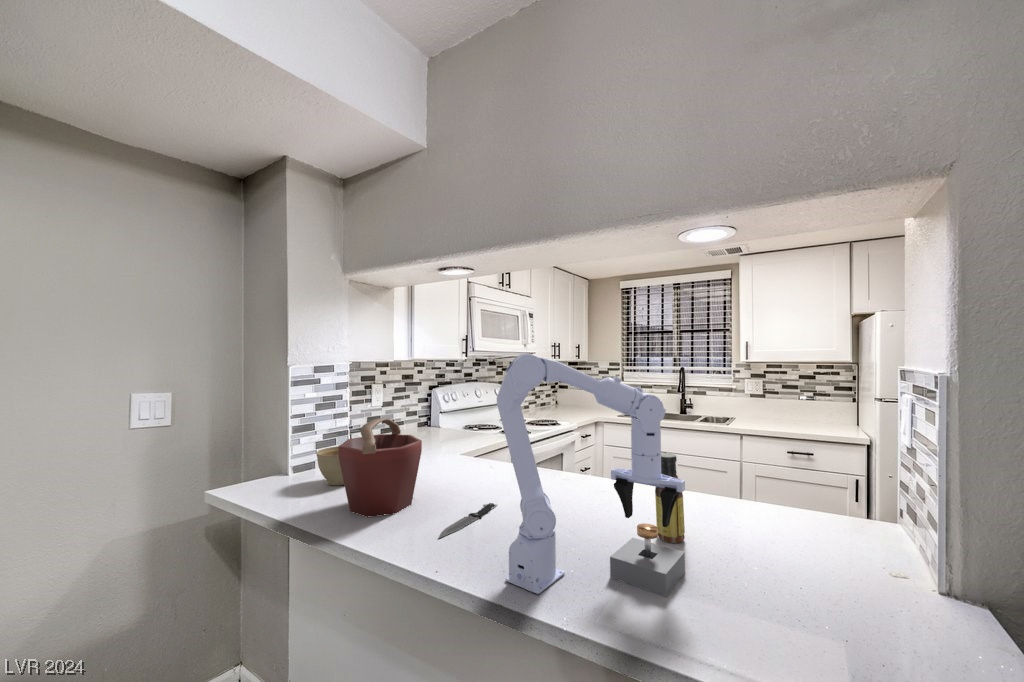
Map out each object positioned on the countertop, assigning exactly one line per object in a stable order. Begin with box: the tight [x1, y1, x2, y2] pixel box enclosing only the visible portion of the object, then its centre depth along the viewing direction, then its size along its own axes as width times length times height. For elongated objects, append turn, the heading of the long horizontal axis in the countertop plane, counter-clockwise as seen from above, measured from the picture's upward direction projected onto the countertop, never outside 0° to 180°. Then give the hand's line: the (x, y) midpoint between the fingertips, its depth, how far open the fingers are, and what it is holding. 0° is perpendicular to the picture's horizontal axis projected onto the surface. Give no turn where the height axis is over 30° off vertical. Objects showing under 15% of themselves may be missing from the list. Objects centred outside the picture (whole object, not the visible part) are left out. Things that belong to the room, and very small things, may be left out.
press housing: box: [609, 537, 686, 597], centre depth 87 cm, size 11×11×4 cm
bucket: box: [338, 417, 423, 518], centre depth 127 cm, size 24×22×25 cm
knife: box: [438, 502, 498, 540], centre depth 115 cm, size 26×1×5 cm
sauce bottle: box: [654, 452, 686, 544], centre depth 103 cm, size 6×6×20 cm
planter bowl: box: [316, 445, 345, 486], centre depth 150 cm, size 16×16×11 cm
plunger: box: [636, 523, 659, 557], centre depth 87 cm, size 4×4×6 cm
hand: (647, 520), depth 88 cm, fingers open, 7 cm apart
